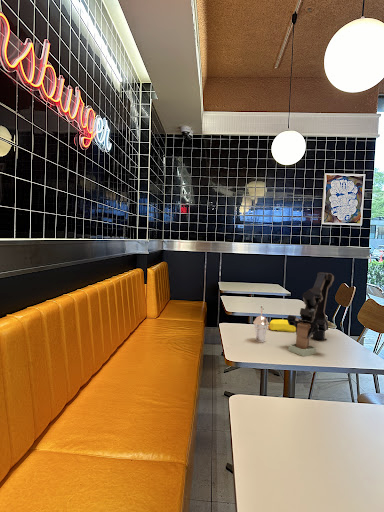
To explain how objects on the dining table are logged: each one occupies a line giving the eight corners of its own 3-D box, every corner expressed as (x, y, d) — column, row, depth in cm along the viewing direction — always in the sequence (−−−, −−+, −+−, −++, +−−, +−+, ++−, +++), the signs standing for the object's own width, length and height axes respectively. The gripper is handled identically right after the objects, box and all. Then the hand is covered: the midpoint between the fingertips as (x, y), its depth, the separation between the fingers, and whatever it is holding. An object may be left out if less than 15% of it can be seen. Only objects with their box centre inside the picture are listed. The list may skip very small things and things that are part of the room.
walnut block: (298, 347, 175) (300, 322, 174) (308, 349, 172) (310, 324, 171) (295, 349, 170) (297, 323, 170) (305, 352, 168) (307, 325, 167)
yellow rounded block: (298, 333, 209) (295, 330, 216) (299, 322, 208) (296, 319, 216) (268, 331, 210) (266, 328, 218) (269, 320, 210) (267, 317, 217)
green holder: (301, 348, 177) (301, 342, 177) (315, 353, 169) (316, 347, 169) (288, 350, 172) (288, 344, 172) (303, 356, 165) (303, 350, 164)
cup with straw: (270, 341, 187) (273, 305, 187) (262, 344, 181) (264, 307, 180) (257, 337, 193) (259, 302, 192) (248, 340, 186) (250, 304, 186)
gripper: (289, 299, 178) (280, 324, 170) (326, 304, 168) (319, 331, 159) (293, 312, 185) (285, 336, 177) (329, 318, 175) (322, 344, 166)
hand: (302, 336), depth 170 cm, fingers closed on walnut block, 5 cm apart
